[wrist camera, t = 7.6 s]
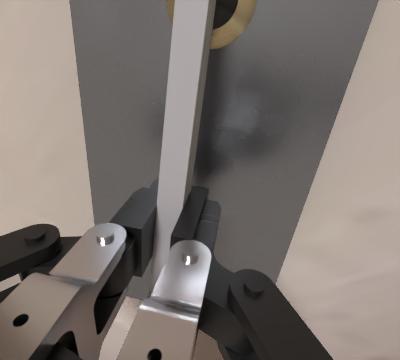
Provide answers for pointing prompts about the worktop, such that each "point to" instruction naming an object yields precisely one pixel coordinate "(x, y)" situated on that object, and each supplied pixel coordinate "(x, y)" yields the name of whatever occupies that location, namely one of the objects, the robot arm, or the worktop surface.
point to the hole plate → (219, 110)
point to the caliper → (181, 119)
